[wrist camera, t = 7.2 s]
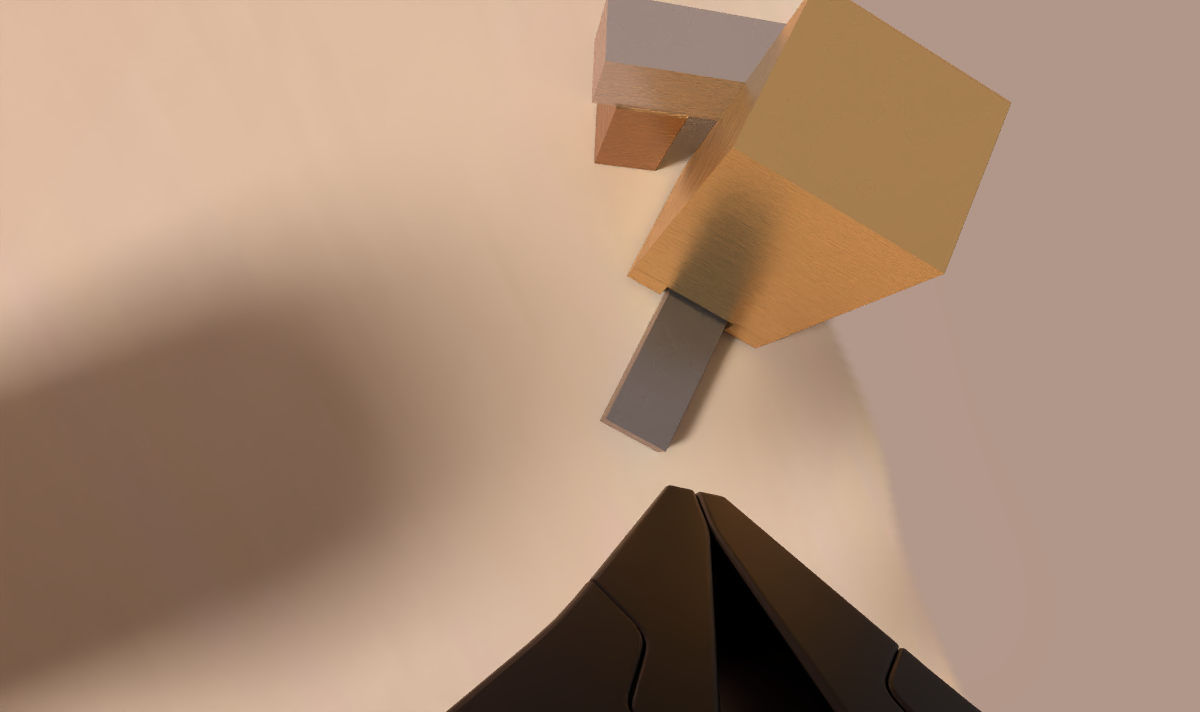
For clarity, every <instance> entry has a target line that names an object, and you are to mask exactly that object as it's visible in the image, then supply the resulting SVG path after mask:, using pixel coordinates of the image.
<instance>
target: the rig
mask: <svg viewBox="0 0 1200 712" xmlns="http://www.w3.org/2000/svg"><path fill="white" fill-rule="evenodd" d="M785 26H786V24H783V23H777V22H772V21H766V20H760V19H755V18H749V17H743V16H737V15H732V14H726V13H720V12H715V11H709V10H703V9H698V8H692V7H686V6H681V5H675V4H669V3H664V2H658V1H652V0H606V2H605V6H604V9H603V13H602V16H601V20H600V23H599V27H598V30H597V34H596V38H595V43H594V65H593V88H592V102H593V103H598V104H597V115H596V138H595V161H594V163H598V164H605V165H613V166H621V167H629V168H637V169H645V170H653V171H655V170H656V168H657V166H658V165H659V163H660V162H661V160H662V158H663V157H664V155H665V154H666V152H667V150H668V149H669V147H670V145H671V144H672V142H673V141H674V139H675V137H676V136H677V134H678V132H679V131H680V129H681V128H682V126H683V124H684V123H685V121H686V120H687V116H690V117H697V118H704V119H711V120H719V118H720V117H721V116H722V114H723V113H724V111H725V110H726V109H727V107H728V106H729V104H730V103H731V102H732V100H733V99H734V97H735V96H736V94H737V93H738V92H739V90H740V89H741V87H742V86H743V85H744V83H745V82H746V80H747V79H748V78H749V76H750V75H751V73H752V72H753V71H754V69H755V68H756V66H757V65H758V64H759V62H760V61H761V59H762V58H763V57H764V55H765V54H766V52H767V51H768V50H769V48H770V47H771V45H772V44H773V43H774V41H775V40H776V38H777V37H778V36H779V34H780V33H781V31H782V30H783V29H784V27H785ZM727 322H728V321H726V320H725V319H723V318H721V317H719V316H718V315H716V314H714V313H712V312H711V311H709V310H707V309H705V308H704V307H702V306H700V305H698V304H696V303H695V302H693V301H691V300H689V299H688V298H686V297H684V296H682V295H681V294H679V293H677V292H675V291H674V290H672V289H670V288H667V290H666V292H665V294H664V296H663V298H662V300H661V302H660V304H659V306H658V308H657V310H656V312H655V314H654V316H653V318H652V320H651V321H650V323H649V325H648V327H647V329H646V331H645V333H644V335H643V337H642V339H641V341H640V343H639V345H638V347H637V349H636V351H635V353H634V355H633V357H632V359H631V361H630V363H629V365H628V367H627V369H626V371H625V373H624V375H623V377H622V379H621V381H620V383H619V385H618V386H617V388H616V390H615V392H614V394H613V396H612V398H611V400H610V402H609V404H608V406H607V408H606V410H605V412H604V414H603V416H602V418H601V420H600V421H601V422H603V423H605V424H607V425H609V426H611V427H613V428H614V429H616V430H618V431H620V432H622V433H624V434H626V435H627V436H629V437H631V438H633V439H635V440H637V441H639V442H640V443H642V444H644V445H646V446H648V447H650V448H652V449H653V450H655V451H657V452H666V450H667V448H668V446H669V444H670V442H671V440H672V437H673V435H674V433H675V431H676V429H677V427H678V425H679V423H680V421H681V419H682V416H683V414H684V412H685V410H686V408H687V406H688V404H689V402H690V400H691V398H692V395H693V393H694V391H695V389H696V387H697V385H698V383H699V381H700V379H701V376H702V374H703V372H704V370H705V368H706V366H707V364H708V362H709V360H710V358H711V355H712V353H713V351H714V349H715V347H716V345H717V343H718V341H719V339H720V336H721V334H722V332H723V330H724V328H725V326H726V324H727Z"/></svg>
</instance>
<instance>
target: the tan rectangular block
mask: <svg viewBox="0 0 1200 712" xmlns="http://www.w3.org/2000/svg"><path fill="white" fill-rule="evenodd" d="M1010 105H1011V102H1010V101H1008V100H1006V99H1005V98H1003V97H1002V96H1000V95H999V94H997V93H995V92H994V91H992V90H991V89H989V88H988V87H986V86H984V85H983V84H981V83H980V82H978V81H977V80H975V79H973V78H972V77H970V76H969V75H967V74H965V73H964V72H963V71H961V70H959V69H958V68H956V67H955V66H953V65H951V64H950V63H948V62H947V61H945V60H943V59H942V58H940V57H939V56H937V55H936V54H934V53H933V52H931V51H929V50H928V49H926V48H925V47H923V46H921V45H920V44H918V43H917V42H915V41H914V40H912V39H911V38H909V37H907V36H906V35H904V34H903V33H901V32H900V31H898V30H896V29H895V28H893V27H892V26H890V25H889V24H887V23H885V22H884V21H882V20H880V19H879V18H877V17H876V16H874V15H873V14H871V13H870V12H868V11H866V10H865V9H863V8H862V7H860V6H859V5H857V4H855V3H854V2H852V1H851V0H804V1H803V2H802V3H801V5H800V6H799V8H798V9H797V10H796V12H795V13H794V15H793V16H792V17H791V19H790V20H789V22H788V23H787V24H786V26H785V27H784V29H783V30H782V31H781V33H780V34H779V36H778V37H777V38H776V40H775V41H774V43H773V44H772V45H771V47H770V48H769V50H768V51H767V52H766V54H765V55H764V57H763V58H762V59H761V61H760V62H759V64H758V65H757V66H756V68H755V69H754V71H753V72H752V73H751V75H750V76H749V78H748V79H747V80H746V82H745V83H744V85H743V86H742V87H741V89H740V90H739V92H738V93H737V94H736V96H735V97H734V99H733V100H732V102H731V103H730V104H729V106H728V107H727V109H726V110H725V111H724V113H723V114H722V116H721V117H720V118H719V120H718V121H717V123H716V124H715V125H714V127H713V128H712V130H711V131H710V132H709V134H708V135H707V137H706V138H705V139H704V141H703V142H702V144H701V145H700V146H699V148H698V149H697V151H696V152H695V153H694V155H693V156H692V158H691V159H690V160H689V162H688V163H687V165H686V166H685V167H684V169H683V171H682V173H681V175H680V177H679V178H678V180H677V182H676V184H675V186H674V188H673V190H672V192H671V194H670V196H669V197H668V199H667V201H666V203H665V205H664V207H663V209H662V211H661V213H660V214H659V216H658V218H657V220H656V222H655V224H654V226H653V228H652V230H651V231H650V233H649V235H648V237H647V239H646V241H645V243H644V245H643V247H642V249H641V250H640V252H639V254H638V256H637V258H636V260H635V262H634V264H633V266H632V267H631V269H630V271H629V273H628V275H627V276H629V277H630V278H632V279H634V280H636V281H637V282H639V283H641V284H643V285H644V286H646V287H648V288H650V289H652V290H653V291H655V292H657V293H659V294H660V293H662V292H663V291H664V290H665V289H666V288H667V287H668V288H670V289H672V290H674V291H675V292H677V293H679V294H681V295H682V296H684V297H686V298H688V299H689V300H691V301H693V302H695V303H696V304H698V305H700V306H702V307H704V308H705V309H707V310H709V311H711V312H712V313H714V314H716V315H718V316H719V317H721V318H723V319H725V320H726V321H728V323H727V325H726V327H725V329H724V331H726V332H728V333H729V334H731V335H733V336H735V337H736V338H738V339H740V340H742V341H744V342H745V343H747V344H749V345H751V346H752V347H754V348H757V347H760V346H762V345H765V344H767V343H770V342H773V341H775V340H778V339H780V338H783V337H785V336H788V335H790V334H793V333H795V332H798V331H800V330H803V329H805V328H808V327H810V326H813V325H816V324H818V323H821V322H823V321H826V320H828V319H831V318H833V317H836V316H838V315H841V314H843V313H846V312H848V311H851V310H854V309H856V308H859V307H861V306H863V305H866V304H869V303H871V302H873V301H876V300H879V299H881V298H884V297H886V296H889V295H891V294H894V293H896V292H899V291H902V290H904V289H907V288H909V287H912V286H914V285H917V284H919V283H922V282H924V281H927V280H929V279H932V278H934V277H937V276H939V275H942V274H944V273H945V271H946V268H947V266H948V263H949V261H950V258H951V255H952V253H953V250H954V248H955V245H956V243H957V240H958V238H959V235H960V232H961V230H962V227H963V225H964V222H965V220H966V217H967V215H968V212H969V210H970V207H971V204H972V202H973V199H974V197H975V194H976V192H977V189H978V187H979V184H980V181H981V179H982V176H983V174H984V171H985V169H986V166H987V164H988V161H989V158H990V156H991V153H992V151H993V148H994V146H995V143H996V141H997V138H998V135H999V133H1000V130H1001V127H1002V125H1003V123H1004V120H1005V118H1006V115H1007V112H1008V110H1009V107H1010Z"/></svg>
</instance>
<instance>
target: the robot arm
mask: <svg viewBox="0 0 1200 712" xmlns="http://www.w3.org/2000/svg"><path fill="white" fill-rule="evenodd" d="M898 649H899V646H898V644H897V643H896V642H895V641H893V640H892V639H891V638H890V637H889V636H888V635H886V634H885V633H884V632H883V631H882V630H880V629H879V628H878V627H877V626H876V625H875V624H873V623H872V622H871V621H870V620H869V619H867V618H866V617H865V616H864V615H863V614H862V613H860V612H859V611H858V610H857V609H856V608H854V607H853V606H852V605H851V604H850V603H849V602H847V601H846V600H845V599H844V598H843V597H841V596H840V595H839V594H838V593H837V592H836V591H834V590H833V589H832V588H831V587H830V586H828V585H827V584H826V583H825V582H824V581H823V580H821V579H820V578H819V577H818V576H817V575H816V574H814V573H813V572H812V571H811V570H810V569H808V568H807V567H806V566H805V565H804V564H803V563H801V562H800V561H799V560H798V559H797V558H795V557H794V556H793V555H792V554H791V553H790V552H788V551H787V550H786V549H785V548H784V547H782V546H781V545H780V544H779V543H778V542H777V541H775V540H774V539H773V538H772V537H771V536H769V535H768V534H767V533H766V532H765V531H764V530H762V529H761V528H760V527H759V526H758V525H756V524H755V523H754V522H753V521H752V520H751V519H749V518H748V517H747V516H746V515H745V514H743V513H742V512H741V511H740V510H739V509H738V508H736V507H735V506H734V505H733V504H732V503H731V502H729V501H728V500H727V499H726V498H724V497H722V496H718V495H713V494H709V493H704V492H698V493H696V494H695V493H694V491H693V490H690V489H685V488H680V487H676V486H671V485H669V486H667V487H665V488H664V490H663V491H662V492H661V493H660V494H659V496H658V497H657V498H656V499H655V501H654V502H653V503H652V504H651V506H650V507H649V508H648V509H647V510H646V512H645V513H644V514H643V515H642V517H641V518H640V519H639V520H638V522H637V523H636V524H635V525H634V526H633V528H632V529H631V530H630V531H629V533H628V534H627V535H626V536H625V537H624V539H623V540H622V541H621V542H620V544H619V545H618V546H617V547H616V549H615V550H614V551H613V552H612V553H611V555H610V556H609V557H608V558H607V560H606V561H605V562H604V563H603V565H602V566H601V567H600V568H599V569H598V571H597V572H596V573H595V574H594V576H593V577H592V578H591V579H590V581H589V582H587V583H586V584H585V585H584V587H583V588H582V589H581V590H580V592H579V593H578V594H577V595H576V596H575V598H574V599H573V600H572V601H571V602H570V603H569V604H568V605H567V606H566V608H565V609H564V610H563V611H562V612H561V613H560V614H559V615H558V616H557V617H556V618H555V620H553V621H552V622H551V623H550V624H549V625H548V626H547V627H546V628H545V629H544V630H542V631H541V632H540V633H539V634H538V635H537V636H536V637H535V638H534V639H532V640H531V641H530V642H529V643H528V644H527V645H526V646H524V647H523V648H522V649H521V650H520V651H518V652H517V653H516V654H515V655H514V656H512V657H511V658H510V659H509V660H508V661H506V662H505V663H504V664H503V665H502V666H500V667H499V668H498V669H497V670H496V671H494V672H493V673H492V674H491V675H490V676H488V677H487V678H486V679H485V680H484V681H482V682H481V683H480V684H479V685H478V686H476V687H475V688H474V689H473V690H472V691H470V692H469V693H468V694H467V695H466V696H464V697H463V698H462V699H461V700H460V701H458V702H457V703H456V704H455V705H454V706H453V707H451V708H450V709H449V710H448V711H447V712H981V711H980V710H979V709H977V708H976V707H975V706H973V705H972V704H971V703H970V702H968V701H967V700H966V699H965V698H964V697H962V696H961V695H960V694H959V693H957V692H956V691H955V690H954V689H953V688H951V687H950V686H949V685H948V684H946V683H945V682H944V681H943V680H942V679H940V678H939V677H938V676H937V675H935V674H934V673H933V672H932V671H931V670H929V669H928V668H927V667H926V666H925V665H923V664H922V663H921V662H920V661H919V660H918V659H916V658H915V657H914V656H913V655H912V654H911V653H909V652H908V651H907V650H906V649H904V648H900V649H899V650H898Z"/></svg>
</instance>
